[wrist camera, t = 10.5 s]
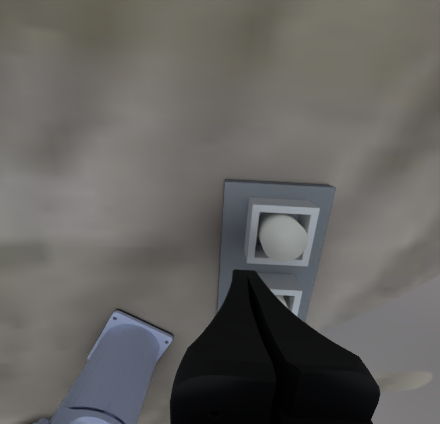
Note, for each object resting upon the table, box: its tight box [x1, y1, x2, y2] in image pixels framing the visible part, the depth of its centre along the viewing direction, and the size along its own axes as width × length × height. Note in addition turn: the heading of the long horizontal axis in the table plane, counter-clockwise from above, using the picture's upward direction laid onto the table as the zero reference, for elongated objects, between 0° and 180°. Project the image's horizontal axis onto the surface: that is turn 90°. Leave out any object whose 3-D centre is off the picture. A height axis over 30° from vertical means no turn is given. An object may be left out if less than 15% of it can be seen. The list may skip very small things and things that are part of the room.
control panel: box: [217, 179, 336, 322], centre depth 22 cm, size 24×10×4 cm, turn 177°
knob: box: [257, 212, 308, 262], centre depth 18 cm, size 4×4×4 cm
